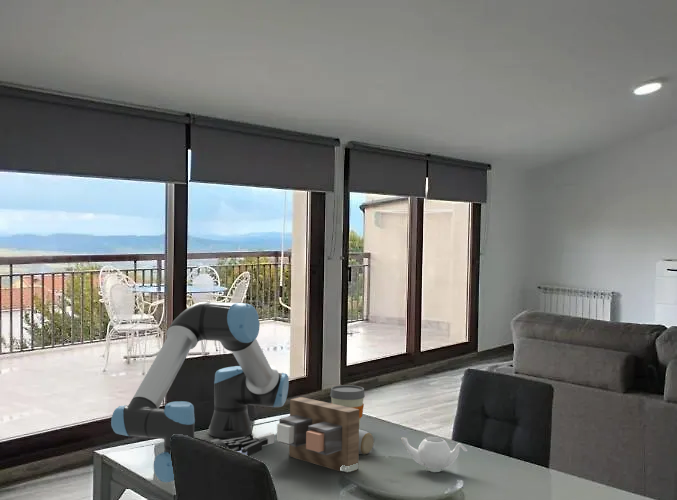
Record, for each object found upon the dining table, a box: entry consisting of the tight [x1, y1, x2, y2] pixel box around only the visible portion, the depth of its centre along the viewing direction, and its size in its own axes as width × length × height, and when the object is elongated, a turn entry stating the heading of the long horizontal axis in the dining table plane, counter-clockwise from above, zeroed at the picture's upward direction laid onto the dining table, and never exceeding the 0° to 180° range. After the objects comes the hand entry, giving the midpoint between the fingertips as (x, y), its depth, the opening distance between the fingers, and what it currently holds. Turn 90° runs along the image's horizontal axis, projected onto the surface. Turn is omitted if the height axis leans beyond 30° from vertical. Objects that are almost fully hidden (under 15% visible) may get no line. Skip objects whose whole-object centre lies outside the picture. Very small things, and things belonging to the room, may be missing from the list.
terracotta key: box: [306, 430, 324, 452], centre depth 200 cm, size 5×4×5 cm
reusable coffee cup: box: [329, 384, 365, 428], centre depth 250 cm, size 13×13×15 cm
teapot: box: [400, 436, 469, 469], centre depth 206 cm, size 10×20×9 cm, turn 81°
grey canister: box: [359, 428, 375, 455], centre depth 224 cm, size 11×8×8 cm
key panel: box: [278, 396, 360, 472], centre depth 209 cm, size 24×12×18 cm, turn 50°
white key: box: [276, 423, 295, 445], centre depth 208 cm, size 5×4×5 cm
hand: (272, 437), depth 203 cm, fingers closed
